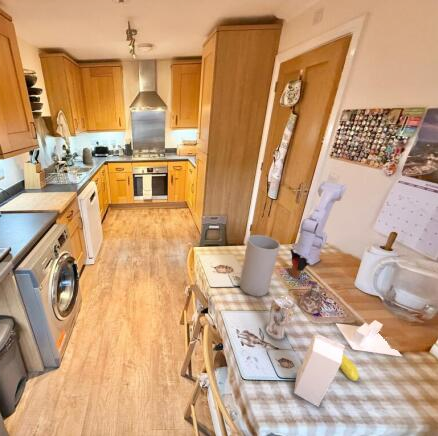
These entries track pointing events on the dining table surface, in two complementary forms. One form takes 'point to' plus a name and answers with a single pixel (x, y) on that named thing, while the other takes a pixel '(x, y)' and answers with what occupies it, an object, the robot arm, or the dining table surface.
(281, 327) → the beer glass
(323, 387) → the milk
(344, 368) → the lemon
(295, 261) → the spice lid
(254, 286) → the cylinder vase
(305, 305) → the figurine
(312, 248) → the robot arm
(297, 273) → the spice jar
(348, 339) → the napkin holder
